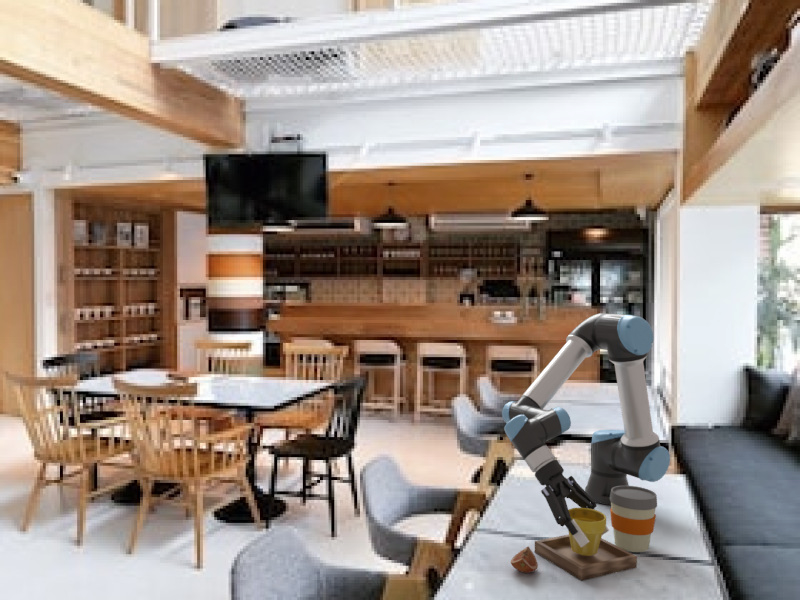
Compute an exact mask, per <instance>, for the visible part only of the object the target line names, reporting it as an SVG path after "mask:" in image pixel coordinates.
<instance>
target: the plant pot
mask: <svg viewBox="0 0 800 600" xmlns="http://www.w3.org/2000/svg"><path fill="white" fill-rule="evenodd" d="M568 510H569V514H570V517H571V520H573V519H574V520H575V522H576V523H577V524H578V526H579V527H580V529H581V530H582V531H583V533H584V534H585V536H586V537H587V539H588V540H589V542H588V543H587V544H586V545H584V546H583V547H580V545H579V544H578V543H577V541H576V540H575V538H574V537H573V535H572V534H571V533H570V532H569V530H568V529H567V530H568V535H569V537H570V543H571V549H572V551H573V552H575V553H577V554H580V555H585V556H591V555H595V554H596V553H597V551H598V547H599V544H600V540H601V538H602V536H603V535H602V533H603V532H604V531H605V529H606V526H607V517H606V514H605V513H603V512H602V511H600V510H596V509H595V510H593V509H589V508H581V507H573V508H568Z"/></svg>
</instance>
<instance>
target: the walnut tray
mask: <svg viewBox="0 0 800 600" xmlns="http://www.w3.org/2000/svg"><path fill="white" fill-rule="evenodd" d="M534 553H535V554H537V555H539V556H540V557H542V558H543V559H545V560H546V561H548V562H550V563H552V564H553V565H554V566H556V567H558V568H560V569H561V570H562V571H565V572H566V573H568V574H569V575H572V576H573V577H574V578H576V579H578V580H579V581H581V582H583V581H587V580H591V579H596V578H600V577H604V576H607V575H608V576H609V575H611V574H616V573H620V572H625V571H629V570H633V569H636V568H637V567H638V565H637V564H638V556H637V555H635V554H634V553H633V552H631V551H627V550H624V549H622V548H620V547H618V546H616V545H615V543H612V542H610V541H608V540H606V539H604V538H602V537H601V540H600V544H599V547H598V551H597V553H596V554H595V555H591V556H585V555H580V554H577V553H575V552H573V551H572V549H571V543H570V537H569V534H565V535H559V536H554V537H549V538H545V539H539V540H534Z"/></svg>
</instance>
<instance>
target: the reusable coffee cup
mask: <svg viewBox="0 0 800 600" xmlns="http://www.w3.org/2000/svg"><path fill="white" fill-rule="evenodd" d="M657 498H658V497H657V494H656V492H655V491H653V490H651V489H647V488H644V487H641V486H635V485H629V486H616V487H613V488H612V489H611V493H610V501H611V505H610V506H611V508H610V509H609V511H610V520H611V521H610V523H611V527H612V528H613V539H614V545H616V546H618V547H620V548H622V549H624V550H626V551H628V552H630V553H643V552H644V553H645V552H646V551H648V550H649V548H650V543H651V536H652V533H654V529H655V524H656V523H655V522H656V517H657V515H656V508H657V507H658V499H657Z"/></svg>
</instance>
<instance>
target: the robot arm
mask: <svg viewBox="0 0 800 600" xmlns="http://www.w3.org/2000/svg"><path fill="white" fill-rule="evenodd" d="M565 340H566V341H565V342H566V343H565V344H563V346H562V347H561V349H560V350H559V351H558V352H557V353H556V354H555V356H553V358H552V359H551V360H550V362H549V363H548V364H547V365H546V367H544V369H543V370H542V371H541V372H540V373H539V375H538V376H537V377H536V378H535V380H534V381H533V382H532V383H531V384H530V385H529V387H528V388H527V389H526V390H525V391H524V392H523V394H522V395H521V396H520V397H519V398H518V399H517V401H515V400H514V401H513V400H511V401H509V402H506V403H505V404H504V406H503V408H502V411H501V416H502V420H503V422H504V423H505V426H504V427H503V429H504V433H505V434H506V436H507V438H508V439H509V441H510V443H512V445H513V447H514V448H515V449H516V451H517V453H519V455H520V456H521V458H522V459H523V460H524V462H525V464H526V465H527V467H529V470H530V471H531V472H532V473H534V477H535V478H536V480H537V481H538V483H539V484H540V485H541V486H545V487H544V488H542V489H541V490H540V493H541V494H542V496H543V497H544V498H545V500H546V502H547V504H548V506H549V510H550V511H551V514H552V516H553V518H554V520H555V522H556V523H557V525H559V526H560V527H564V526H565V527H566V529H567V530H569V531H568V533H569V532H570V533H571V534H572V535H573V537H574V538H575V540H576V541H577V543H578V544H579V545H580V547H583V546H584V545H586V544H587V543H588V542H589V540H588V539H587V537H586V536H585V534H584V533H583V531H582V530H581V529H580V527H579V526H578V524H577V523H576V522H575V520H574V519H573V520H571V517H570V514H569V508H568V504H567V501H566V499H569V500H571V501H572V502H574V503H575V504H576V505H577V506H579V508H589V509H593V510H596V508H597V503H598V504H602V505H608V506H611V501H610V493H611V489H612V488H613V487H616V486H630V484H629V481H628V475H629V476H630V477H634V478H637V479H639V480H641V481H646V482H650V483H655V482H658V481H660V480H661V479H662V478H663V477H665V475H666V473H667V471H668V470H669V466H670V463H671V462H670V461H671V456H670V452H669V450H668V449H667V448H666V447H664V446H661V444H660V443H661V441H660V436H659V434H657V432H654V430H653V421H652V415H651V409H650V402H649V395H648V387H647V380H646V373H645V365H644V361H645V359H646V358H647V357H648V353H649V352H650V351H651V350H652V347H653V345H652V344H653V343H654V331H653V329H652V326H651V325H650V323H649V322H648V320H645V319H644V318H643V317H642V316H637V315H633V314H618V313H617V314H616V313H608V312H606V313H605V312H602V313H595V314H594V315H591V316H590V317H588V318H586V319H584V320H583V321H582V322H581V323H579V324H577V326H576V327H574V329H572V330H571V332H570V333H569V334H568V336H566V338H565ZM599 350H605V351H607V357H608V360H609V362H611V363H612V364H614V370H615V378H616V384H617V390H618V397H619V403H620V411H621V415H622V416H621V417H622V424H623V429H622V430H621V429H600V430H595V431H594V432H593V433H592V435H591V436H592V438H591V442H590V443H591V445H590V446H591V447H590V449H591V451H590V455H591V456H590V475H589V478H588V481H587V484H586V486H585V489H584V488H583V487H582V486H581V485H580V484H579V483H578V482H577V481H576V480H575V478H574V477H573V475H570V476H569V477H567V478H566V477H565V476H564V475H563V473H564V471H565V469H564V468H563V466H562V465H561V463H560V462H559V460H557V459H555V458H556V457H555V455H554V454H553V452H552V451H551V450H550V448H549V446H547V444H546V442H547V441H550V440H552V439H554V438H556V437H559V436H561V435H563V434H564V433H566V432H567V431H569V430H570V428H571V424H572V421H571V416H570V414H568V413H569V412H567V411H566V409H564V408H563V407H560V406H556V407H552V408H550V409H548V410H547V409H545V407H546V406H547V405H548V404H549V402H551V400H552V399H553V398H554V396H556V394H557V392H558V391H560V389H561V388H562V387H563V386H564V384H565V383H566V382H567V381H568V379H569V378H570V377H571V376H572V375H573V374H574V373H575V371H576V370H577V368H578V367H579V366H580V365H581V364H582V363H583V361H584V360H585V359H586V358H590V357H592V356H593V354H594V353H595V352H596V351H599ZM609 531H610V529H609V527H608V526H607V525H606V529H605V531H604V532H603V533H602V536H603V535H605V534H606V533H608V532H609Z"/></svg>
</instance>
